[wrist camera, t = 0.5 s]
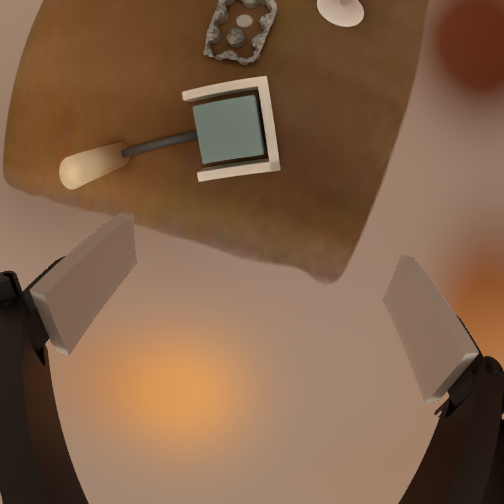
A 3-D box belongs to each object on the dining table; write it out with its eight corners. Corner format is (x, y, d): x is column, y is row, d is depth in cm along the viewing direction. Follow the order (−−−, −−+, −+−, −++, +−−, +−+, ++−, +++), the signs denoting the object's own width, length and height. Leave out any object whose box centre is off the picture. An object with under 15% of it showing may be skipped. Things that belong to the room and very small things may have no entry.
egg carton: (228, -3, 24) (223, -15, 21) (281, 9, 25) (282, -3, 21) (202, 58, 29) (194, 51, 26) (256, 71, 30) (253, 65, 26)
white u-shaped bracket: (190, 93, 32) (181, 91, 29) (267, 79, 30) (266, 75, 27) (205, 176, 37) (198, 181, 34) (279, 165, 36) (280, 170, 32)
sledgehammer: (104, 137, 35) (53, 150, 24) (257, 99, 32) (249, 89, 21) (114, 179, 38) (67, 203, 27) (264, 149, 35) (260, 162, 24)
